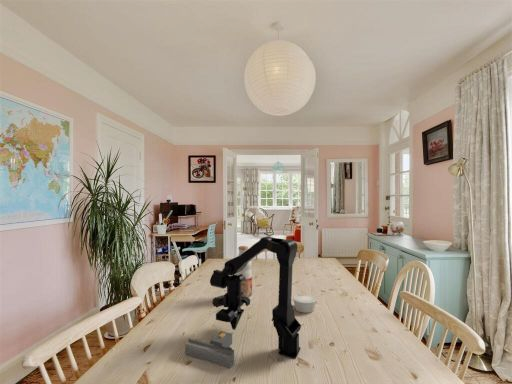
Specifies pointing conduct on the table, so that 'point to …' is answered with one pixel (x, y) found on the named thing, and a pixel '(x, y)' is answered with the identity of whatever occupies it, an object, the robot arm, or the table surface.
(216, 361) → the rail
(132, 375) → the table surface
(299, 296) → the ramekin
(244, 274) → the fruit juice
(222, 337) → the block
